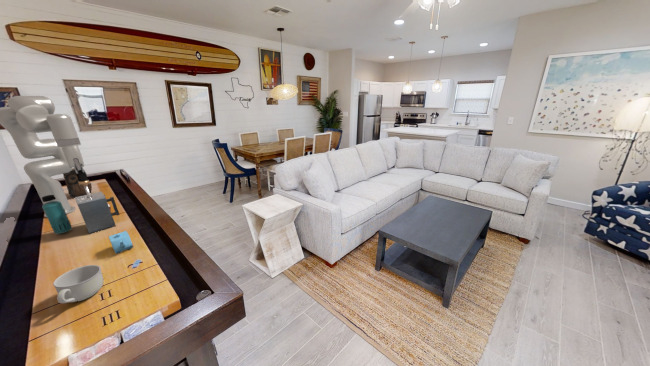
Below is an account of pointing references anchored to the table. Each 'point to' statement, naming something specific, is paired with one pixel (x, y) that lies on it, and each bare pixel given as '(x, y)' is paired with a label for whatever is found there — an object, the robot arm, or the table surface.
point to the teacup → (78, 283)
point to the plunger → (85, 187)
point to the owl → (75, 184)
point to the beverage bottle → (56, 215)
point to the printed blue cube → (121, 242)
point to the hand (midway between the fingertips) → (83, 180)
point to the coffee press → (97, 211)
